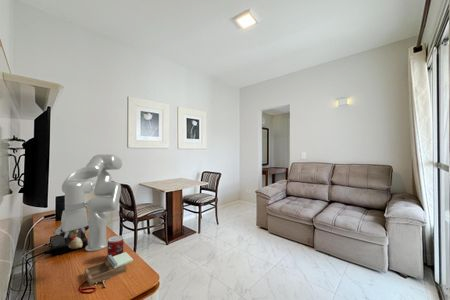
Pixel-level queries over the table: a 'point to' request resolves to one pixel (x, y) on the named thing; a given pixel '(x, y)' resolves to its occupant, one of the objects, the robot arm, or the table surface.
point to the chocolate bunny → (74, 240)
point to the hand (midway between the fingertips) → (74, 241)
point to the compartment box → (102, 272)
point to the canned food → (115, 245)
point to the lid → (119, 259)
